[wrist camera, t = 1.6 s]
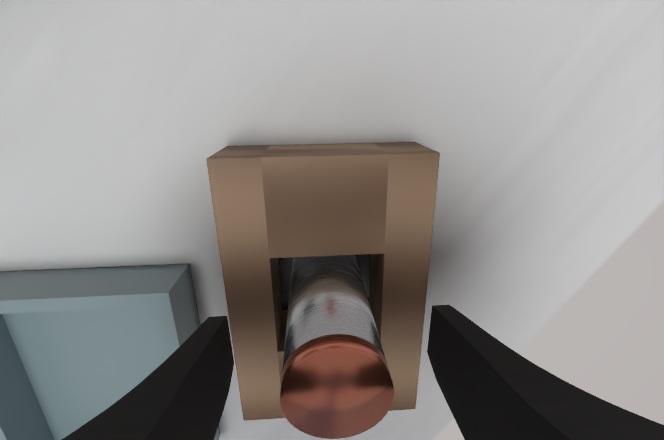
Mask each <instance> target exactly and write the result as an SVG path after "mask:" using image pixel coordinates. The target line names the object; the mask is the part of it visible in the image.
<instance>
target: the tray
mask: <svg viewBox="0 0 664 440" xmlns="http://www.w3.org/2000/svg"><path fill="white" fill-rule="evenodd" d="M199 326H200V322H199V317H198V311H197V306H196V300H195V295H194V289H193V283H192V278H191V272H190V267H189V264H174V265H150V266H126V267H102V268H78V269H55V270H31V271H7V272H0V440H62V439H63V438H65V437H66V436H68V435H69V434H71V433H72V432H74V431H75V430H77V429H78V428H80V427H81V426H83V425H84V424H86V423H87V422H88V421H90V420H91V419H93V418H94V417H96V416H97V415H99V414H100V413H102V412H103V411H105V410H106V409H107V408H109V407H110V406H111V405H113V404H114V403H115V402H117V401H118V400H119V399H121V398H122V397H123V396H124V395H126V394H127V393H128V392H130V391H131V390H132V389H133V388H134V387H136V386H137V385H138V384H139V383H141V382H142V381H143V380H144V379H145V378H146V377H147V376H149V375H150V374H151V373H152V372H153V371H154V370H155V369H156V368H157V367H159V366H160V365H161V364H162V363H163V362H164V361H165V360H166V359H167V358H168V357H169V356H170V355H171V354H172V353H174V352H175V351H176V350H177V349H178V348H179V347H180V346H181V345H182V344H183V343H184V342H185V341H186V340H187V339H188V338H189V337H190V336H191V335H192V334H193V333H194V332H195V331H196V329H197V328H198V327H199ZM219 435H220V434H219V428H217V431H216V435H215V438H214V440H218V439H219Z"/></svg>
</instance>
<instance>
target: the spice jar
mask: <svg viewBox="0 0 664 440" xmlns="http://www.w3.org/2000/svg"><path fill="white" fill-rule="evenodd" d="M393 397H394V387H393V382H392V379H391V375H390V372H389V368H388V365H387V362H386V358H385V355H384V351H383V348H382V345H381V341H380V338H379V334H378V331H377V328H376V324H375V321H374V317H373V314H372V311H371V307H370V304H369V300H368V297H367V294H366V290H365V287H364V283H363V280H362V277H361V273H360V270H359V266H358V263H357V260H356V257H355V255H336V256H312V257H295V258H294V261H293V265H292V274H291V284H290V295H289V305H288V316H287V326H286V337H285V347H284V358H283V368H282V379H281V390H280V405H281V409H282V411H283V413H284V415H285V417H286V418H287V420H288V421H289V422H290V423H291V424H292V425H293V426H294V427H296V428H297V429H299V430H300V431H302V432H304V433H306V434H309V435H312V436H315V437H320V438H329V439H337V438H346V437H350V436H354V435H357V434H360V433H362V432H364V431H366V430H368V429H370V428H372V427H373V426H374V425H376V424H377V423H378V422H379V421H381V420H382V418H383V417H384V416H385V415H386V414H387V412H388V411H389V409H390V407H391V404H392V401H393Z"/></svg>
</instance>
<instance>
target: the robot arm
mask: <svg viewBox="0 0 664 440" xmlns="http://www.w3.org/2000/svg"><path fill="white" fill-rule="evenodd" d="M427 352H428V356H429V359H430V362H431V365H432V368H433V371H434V374H435V377H436V380H437V382H438V384H439V386H440V388H441V390H442V393H443V395H444V397H445V399H446V401H447V403H448V405H449V407H450V410H451V412H452V414H453V416H454V418H455V420H456V422H457V424H458V426H459V428H460V430H461V433H462V434H463V437H464V439H465V440H664V425H662V424H659V423H656V422H654V421H651V420H649V419H646V418H644V417H642V416H639V415H637V414H634V413H632V412H629V411H627V410H625V409H622V408H620V407H618V406H615V405H613V404H611V403H609V402H606V401H604V400H602V399H599V398H598V397H596V396H593V395H591V394H589V393H587V392H585V391H583V390H581V389H579V388H577V387H575V386H573V385H571V384H569V383H567V382H565V381H563V380H562V379H560V378H558V377H556V376H554V375H553V374H551V373H549V372H547V371H546V370H544V369H542V368H540V367H538V366H537V365H535V364H533V363H532V362H530V361H528V360H527V359H525V358H524V357H522V356H521V355H519V354H518V353H516V352H515V351H513V350H511V349H510V348H508V347H507V346H506V345H504V344H503V343H501V342H500V341H498V340H497V339H495V338H494V337H493V336H491V335H490V334H488V333H487V332H486V331H484V330H483V329H482V328H480V327H479V326H477V325H476V324H475V323H473V322H472V321H471V320H469V319H468V318H467V317H465V316H464V315H463V314H461V313H460V312H459V311H457V310H456V309H454V308H453V307H452V306H450V305H437V306H432V313H431V323H430V332H429V341H428V351H427ZM233 365H234V360H233V354H232V347H231V340H230V333H229V326H228V319H227V316H218V317H209V318H208V319H207V320H205V321H204V322H203V323H202V324H201V325H200V326H199V327H198V328H197V329H196V331H195V332H194V333H193V334H192V335H191V336H190V337H189V338H188V339H187V340H186V341H185V342H184V343H183V344H182V345H181V346H180V347H179V348H178V349H177V350H176V351H175V352H174V353H172V354H171V355H170V356H169V357H168V358H167V359H166V360H165V361H164V362H163V363H162V364H161V365H160V366H159V367H157V368H156V369H155V370H154V371H153V372H152V373H151V374H150V375H149V376H147V377H146V378H145V379H144V380H143V381H142V382H141V383H139V384H138V385H137V386H136V387H134V388H133V389H132V390H131V391H130V392H128V393H127V394H126V395H124V396H123V397H122V398H121V399H119V400H118V401H117V402H115V403H114V404H113V405H111V406H110V407H109V408H107V409H106V410H105V411H103V412H102V413H100V414H99V415H97V416H96V417H94V418H93V419H91V420H90V421H88V422H87V423H86V424H84V425H83V426H81V427H80V428H78V429H77V430H75V431H74V432H72V433H71V434H69V435H68V436H66V437H65V438H63V439H62V440H214V438H215V435H216V431H217V428H218V425H219V422H220V419H221V415H222V412H223V409H224V406H225V402H226V399H227V396H228V392H229V387H230V382H231V377H232V371H233Z"/></svg>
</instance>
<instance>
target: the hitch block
mask: <svg viewBox="0 0 664 440" xmlns="http://www.w3.org/2000/svg"><path fill="white" fill-rule="evenodd" d="M439 156H440V153H439V152H436V151H434V150H432V149H429V148H427V147H425V146H422V145H420V144H418V143H415V142H396V143H352V144H308V145H265V146H227V147H225V148H223V149H222V150H220V151H218V152H217V153H215V154H214V155H212V156H210V157H209V158H207V166H208V173H209V180H210V187H211V194H212V201H213V208H214V215H215V222H216V229H217V236H218V243H219V250H220V257H221V264H222V271H223V278H224V285H225V292H226V299H227V306H228V313H229V320H230V327H231V334H232V341H233V348H234V355H235V362H236V369H237V376H238V383H239V390H240V398H241V405H242V412H243V419H244V420H259V419H273V418H286V417H285V415H284V413H283V411H282V409H281V405H280V390H281V379H282V368H283V358H284V347H285V337H286V326H287V316H288V309H286V310H283V309H282V295H281V282H280V269H279V258H288V257H312V256H336V255H360V254H370V279H369V304H370V307H371V311H372V314H373V317H374V321H375V324H376V328H377V331H378V334H379V338H380V341H381V345H382V348H383V351H384V355H385V358H386V362H387V365H388V368H389V372H390V375H391V379H392V382H393V387H394V397H393V401H392V404H391V407H390V409H389V411H391V410H405V409H415V406H416V396H417V385H418V375H419V365H420V354H421V344H422V333H423V323H424V312H425V302H426V292H427V281H428V271H429V260H430V250H431V239H432V229H433V219H434V208H435V198H436V187H437V177H438V167H439Z"/></svg>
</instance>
